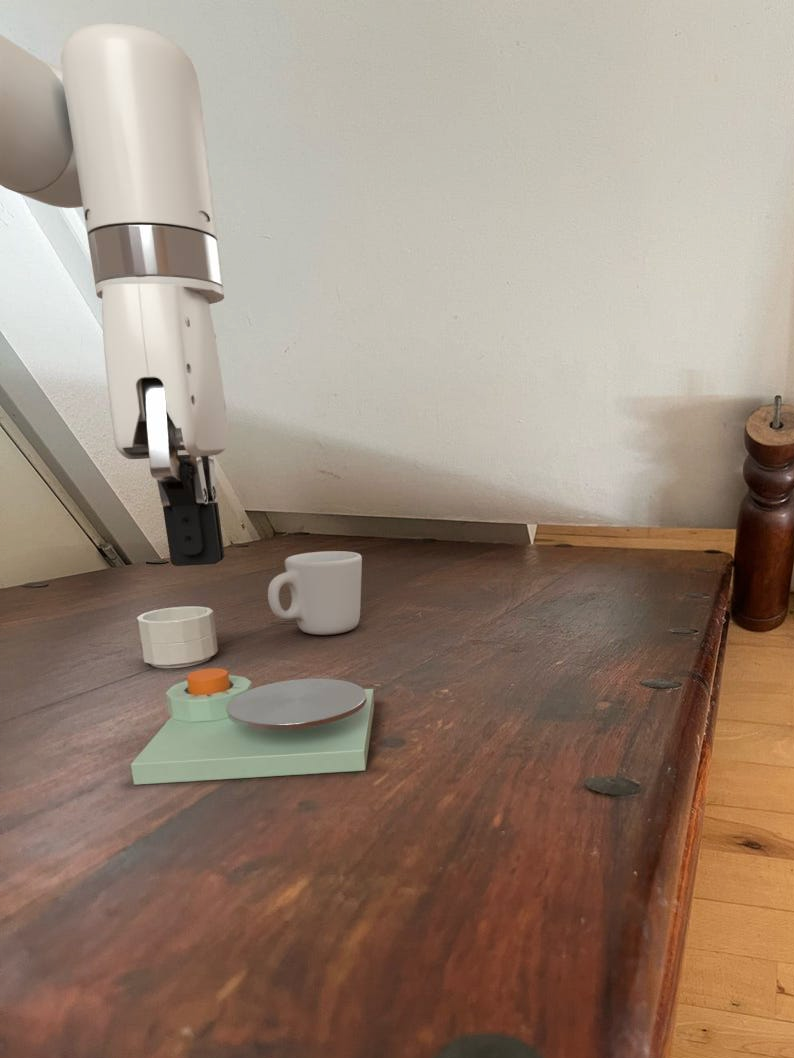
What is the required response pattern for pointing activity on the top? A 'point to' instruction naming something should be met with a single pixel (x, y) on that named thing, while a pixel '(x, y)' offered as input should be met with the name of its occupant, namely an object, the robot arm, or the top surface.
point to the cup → (320, 591)
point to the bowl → (177, 636)
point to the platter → (296, 704)
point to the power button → (208, 681)
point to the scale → (246, 742)
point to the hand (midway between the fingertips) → (198, 562)
